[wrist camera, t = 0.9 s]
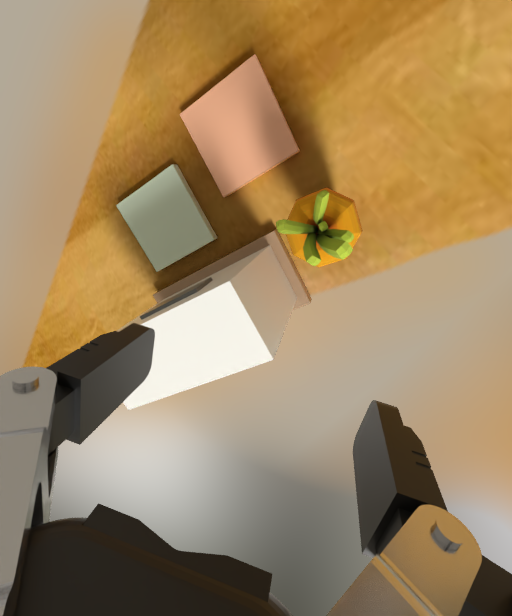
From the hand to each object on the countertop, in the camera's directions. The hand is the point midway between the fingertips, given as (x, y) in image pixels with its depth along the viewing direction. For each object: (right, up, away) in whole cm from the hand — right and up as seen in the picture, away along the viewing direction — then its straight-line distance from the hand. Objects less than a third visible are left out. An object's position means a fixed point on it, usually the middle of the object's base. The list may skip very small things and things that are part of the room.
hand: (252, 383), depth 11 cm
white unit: (-3, +4, +24) cm, 24 cm away
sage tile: (-9, +12, +22) cm, 27 cm away
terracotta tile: (-1, +18, +17) cm, 25 cm away
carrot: (+7, +11, +18) cm, 23 cm away
